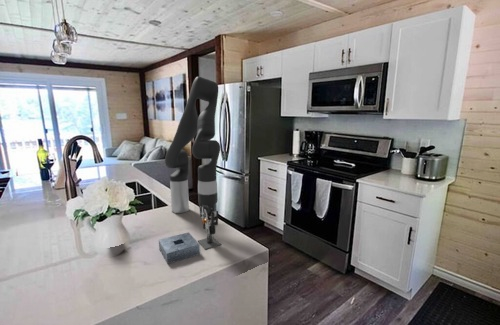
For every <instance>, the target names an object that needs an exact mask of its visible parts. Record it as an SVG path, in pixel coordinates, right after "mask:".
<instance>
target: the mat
mask: <svg viewBox="0 0 500 325" xmlns="http://www.w3.org/2000/svg"><path fill="white" fill-rule="evenodd" d="M212 237H213V242H212V243H207V237H206V238H202V239H198V240H197V242H198V243H199V246H201V247H202V248H203V249H204V250H209V249H213V248H216V247H220V246H222V243H221V242H220V241H219V240H218V239H216V237H215V236H212Z"/></svg>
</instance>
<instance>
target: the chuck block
mask: <svg viewBox="0 0 500 325" xmlns="http://www.w3.org/2000/svg"><path fill="white" fill-rule="evenodd" d="M158 249H159V251H160V253H161V254H162V256H163V259H164V260H165V262H166V264H167V265H168V264H169V265H170V264H171V263H175V262H178V261H181V260H186V259H188V258H191V257H192V258H193V257H196V256H198V255H200V253H201V251H200V250H201V249H200V243H199V242H198V240H196V238H194V237H193V235H192V234H191V233H190V232H185V233H179V234H177V235H173V236H168V237H164V238H161V239H160V238H159V239H158Z"/></svg>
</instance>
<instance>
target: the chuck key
mask: <svg viewBox="0 0 500 325" xmlns="http://www.w3.org/2000/svg"><path fill="white" fill-rule="evenodd" d="M209 218H211V217H209ZM210 221H211V220H210ZM201 223H202V224H203V223H205V227H206V229H205V236H206V238H207V243H212V242H213V237H214V236H213V235H210V234H209V222H208V220H207V218H206V216H205V219H203V220H202V219H201Z"/></svg>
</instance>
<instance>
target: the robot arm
mask: <svg viewBox="0 0 500 325" xmlns="http://www.w3.org/2000/svg"><path fill="white" fill-rule="evenodd" d="M218 85H219V84H218V83H217V82H215V81H213V80H212V79H211V80H210V79H207V78H205V77H202V76H196V77H195V78H194V79H193V82H192V85H191V88H190V90H189V95H188V99H187V101H186V105H185V108H184V111H183V113H182V114H181V118H180V119H179V122H178V126H177V129H176V132H175V134H174V137H173V140H172V142H171V144H170V145H169V148H168V149H167V151H166V154H165V157H164V163H165V166H166V167H167V168H169V169H176V170H175V171H174V172H173V173H171V174H170V175H169V185H170V187H169V190H170V203H171V212H172V213H175V214H183V213H186V212H188V211H190V202H189V200H190V199H189V181H188V179H189V178H188V177H189V170H190V169H189V168H190V167H189V164H190V163H189V155H188V152H187V151H186V150H184V148H185V147H186V146H187V145H188V144H189V143H190V142H191V141H192V140H194V141H193V144H192V148H191V153H192V156H193V157H194V158H195V159H197V160H205V159H206V160H209V159H211V160H210V161H209V162H208V163H204V164H201V165H199V166H198V167H197V196H198V197H197V198H198V199H197V201H198V205H199V206H198V207H199V208H198V209H199V214H200V215H199V216H200V218H201V221H202V220H203V219H205V216H206V218H207V220H208V222H209V234H210V235H212V236H213V235H216V226H218V225H219V211H218V210H216V209H215V205H216V204H217V203H218V201H219V200H218V182H217V166H218V165H217V164H218V159H219V157H220V154H221V144H220V143H219V141H218V140H215V139H214V137H215V136H216V114H217V113H216V111H217V104H218V99H219V98H218V97H219V86H218ZM197 99H198V100H201V101H204V102H208V104H207V106H206V107H205V109H203V110H202V111H201V112H200V114H199V115H198V111H197V105H196V104H197V103H196V102H197ZM213 139H214V140H213ZM209 217H211V218H209ZM210 220H211V221H210ZM202 228H203V229H204V230H206V227H205V223H202Z"/></svg>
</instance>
